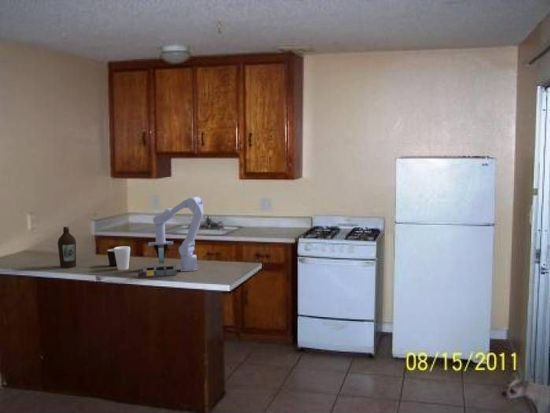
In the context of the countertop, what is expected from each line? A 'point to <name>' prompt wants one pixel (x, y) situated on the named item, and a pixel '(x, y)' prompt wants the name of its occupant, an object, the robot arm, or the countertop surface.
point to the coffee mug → (112, 258)
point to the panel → (161, 255)
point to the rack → (159, 271)
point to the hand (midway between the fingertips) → (161, 257)
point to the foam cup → (122, 257)
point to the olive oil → (67, 249)
